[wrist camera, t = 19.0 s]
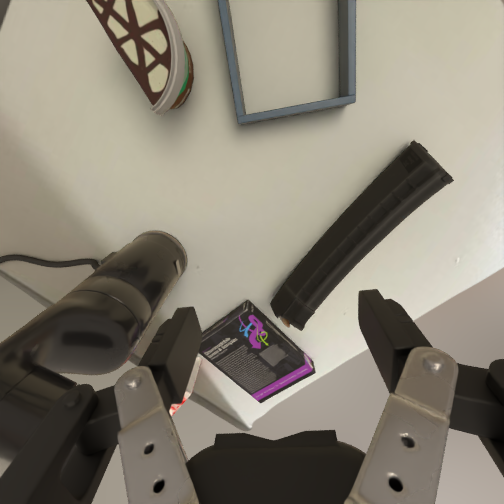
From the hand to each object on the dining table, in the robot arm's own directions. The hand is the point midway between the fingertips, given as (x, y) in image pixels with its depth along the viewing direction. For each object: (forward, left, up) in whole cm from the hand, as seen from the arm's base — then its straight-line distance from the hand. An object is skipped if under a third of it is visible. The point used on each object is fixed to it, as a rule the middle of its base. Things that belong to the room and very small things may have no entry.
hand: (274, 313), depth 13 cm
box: (-7, -30, -28) cm, 42 cm away
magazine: (+9, -8, -28) cm, 31 cm away
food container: (-10, +18, -28) cm, 35 cm away
